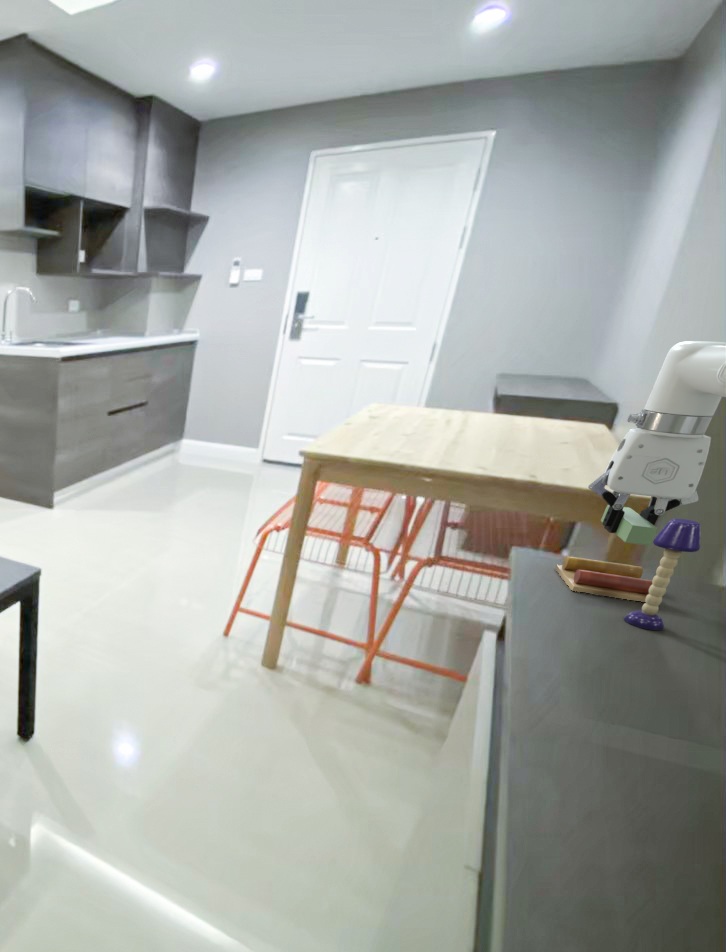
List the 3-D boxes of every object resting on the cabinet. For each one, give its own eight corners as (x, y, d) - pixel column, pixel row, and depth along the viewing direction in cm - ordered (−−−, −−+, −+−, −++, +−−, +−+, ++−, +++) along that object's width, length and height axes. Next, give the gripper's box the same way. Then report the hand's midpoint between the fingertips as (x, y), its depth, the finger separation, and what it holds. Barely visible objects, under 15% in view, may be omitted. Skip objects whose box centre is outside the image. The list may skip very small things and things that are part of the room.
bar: (600, 520, 108) (607, 504, 107) (622, 523, 107) (629, 507, 106) (625, 542, 99) (632, 525, 97) (650, 545, 97) (658, 528, 96)
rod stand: (633, 581, 108) (641, 563, 107) (659, 605, 99) (668, 586, 98) (554, 569, 113) (560, 552, 112) (571, 591, 104) (579, 573, 103)
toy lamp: (617, 621, 94) (663, 520, 88) (620, 612, 97) (664, 514, 91) (661, 633, 91) (712, 529, 84) (663, 623, 94) (712, 521, 87)
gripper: (611, 423, 96) (567, 530, 103) (759, 433, 89) (701, 549, 96) (596, 415, 102) (555, 518, 109) (733, 425, 95) (680, 534, 102)
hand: (624, 531), depth 103 cm, fingers closed on bar, 3 cm apart
